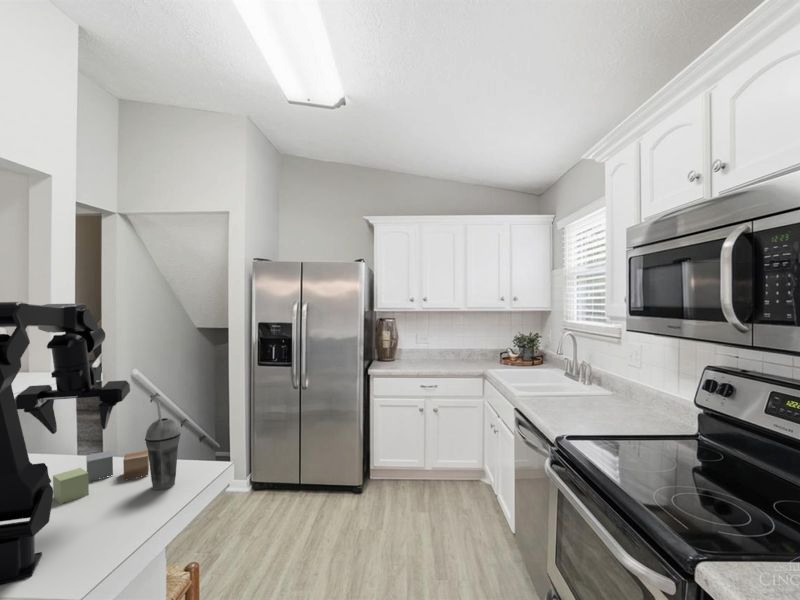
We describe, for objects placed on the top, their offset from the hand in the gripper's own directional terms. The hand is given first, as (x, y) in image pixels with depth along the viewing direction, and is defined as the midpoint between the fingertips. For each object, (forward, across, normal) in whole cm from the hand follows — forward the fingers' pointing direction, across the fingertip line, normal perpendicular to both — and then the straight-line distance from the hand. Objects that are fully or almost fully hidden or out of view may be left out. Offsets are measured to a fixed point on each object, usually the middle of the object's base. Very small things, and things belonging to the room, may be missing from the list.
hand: (79, 430), depth 89 cm
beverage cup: (+16, -15, +1) cm, 22 cm away
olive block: (+16, +3, 0) cm, 16 cm away
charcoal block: (+18, +2, -11) cm, 21 cm away
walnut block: (+18, -7, -9) cm, 21 cm away
